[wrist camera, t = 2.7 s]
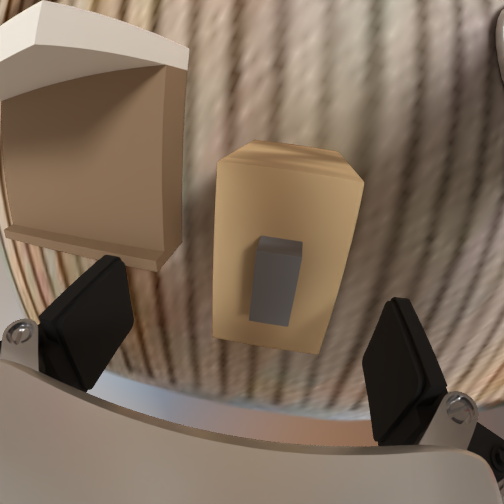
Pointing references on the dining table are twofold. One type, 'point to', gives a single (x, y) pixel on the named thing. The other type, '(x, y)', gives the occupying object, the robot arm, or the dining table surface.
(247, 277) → the tan faceted wooden block
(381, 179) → the dining table surface
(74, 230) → the brown and white stand
